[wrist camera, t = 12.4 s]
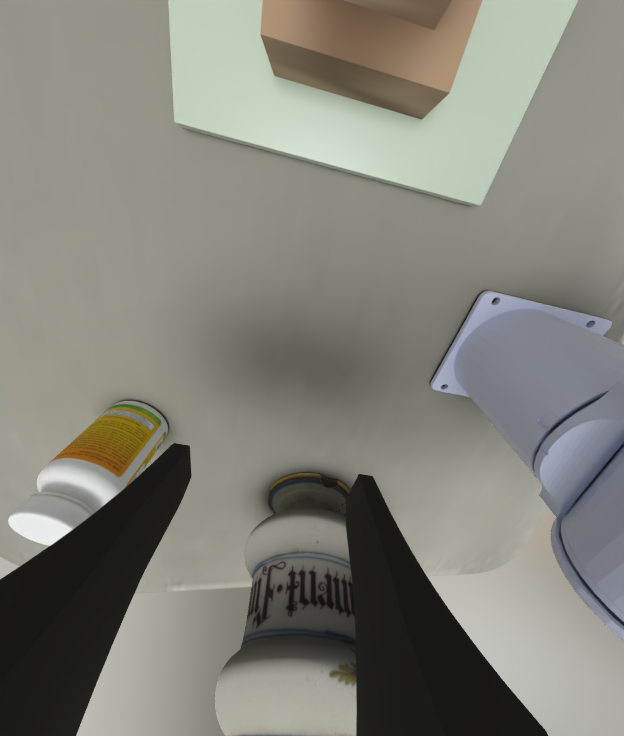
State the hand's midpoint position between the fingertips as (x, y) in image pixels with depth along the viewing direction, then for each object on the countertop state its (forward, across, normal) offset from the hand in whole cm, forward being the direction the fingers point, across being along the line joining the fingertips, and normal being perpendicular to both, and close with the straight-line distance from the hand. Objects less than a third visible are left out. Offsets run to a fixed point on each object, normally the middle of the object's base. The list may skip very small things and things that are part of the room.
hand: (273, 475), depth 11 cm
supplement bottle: (+11, +13, +10) cm, 20 cm away
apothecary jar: (+11, -5, +18) cm, 21 cm away
